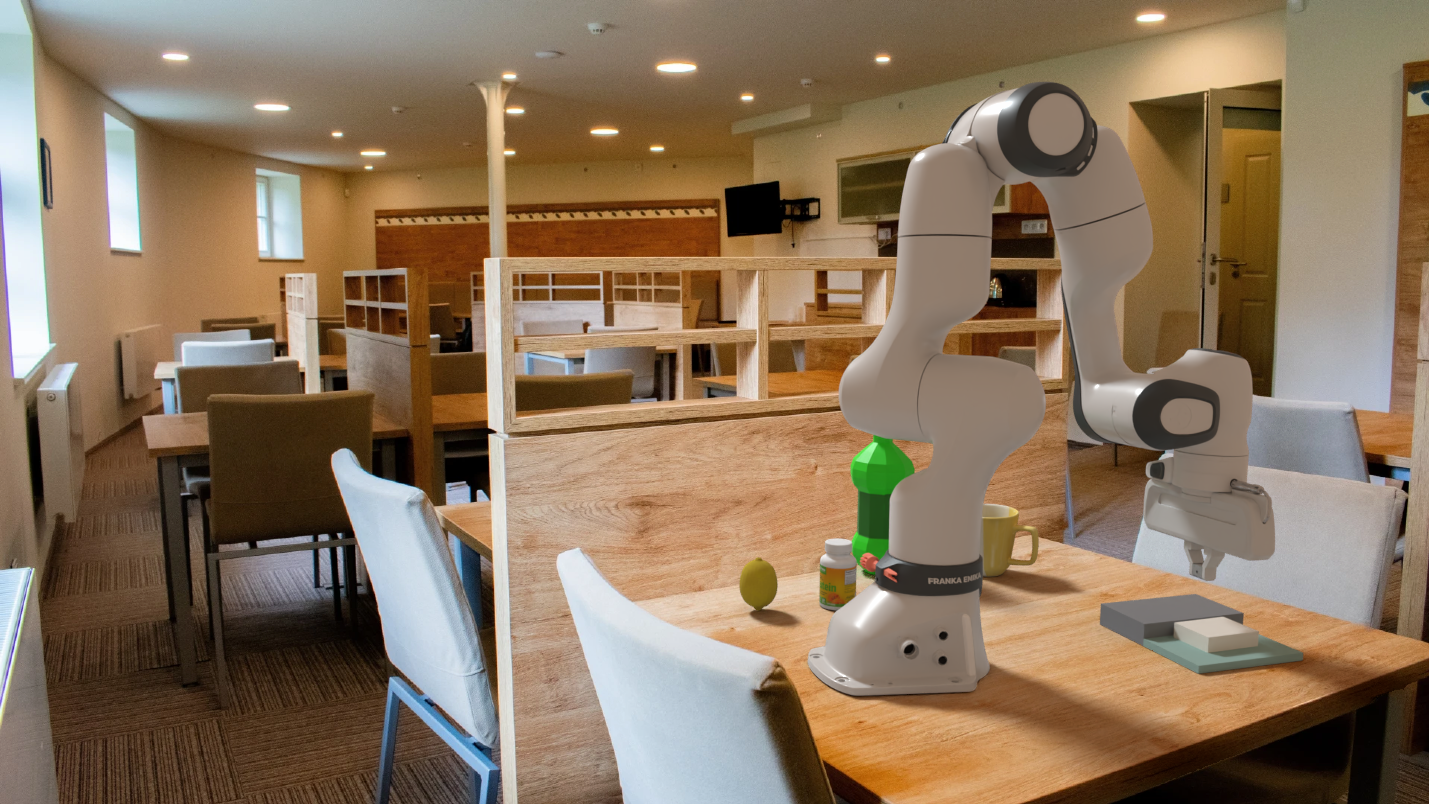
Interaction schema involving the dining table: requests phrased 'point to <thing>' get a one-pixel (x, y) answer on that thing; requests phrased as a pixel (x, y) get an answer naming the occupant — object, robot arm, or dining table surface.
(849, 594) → the supplement bottle
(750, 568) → the lemon
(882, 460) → the plastic bottle
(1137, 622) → the plate
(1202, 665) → the mat
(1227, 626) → the tile
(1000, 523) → the mug
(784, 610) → the dining table surface
